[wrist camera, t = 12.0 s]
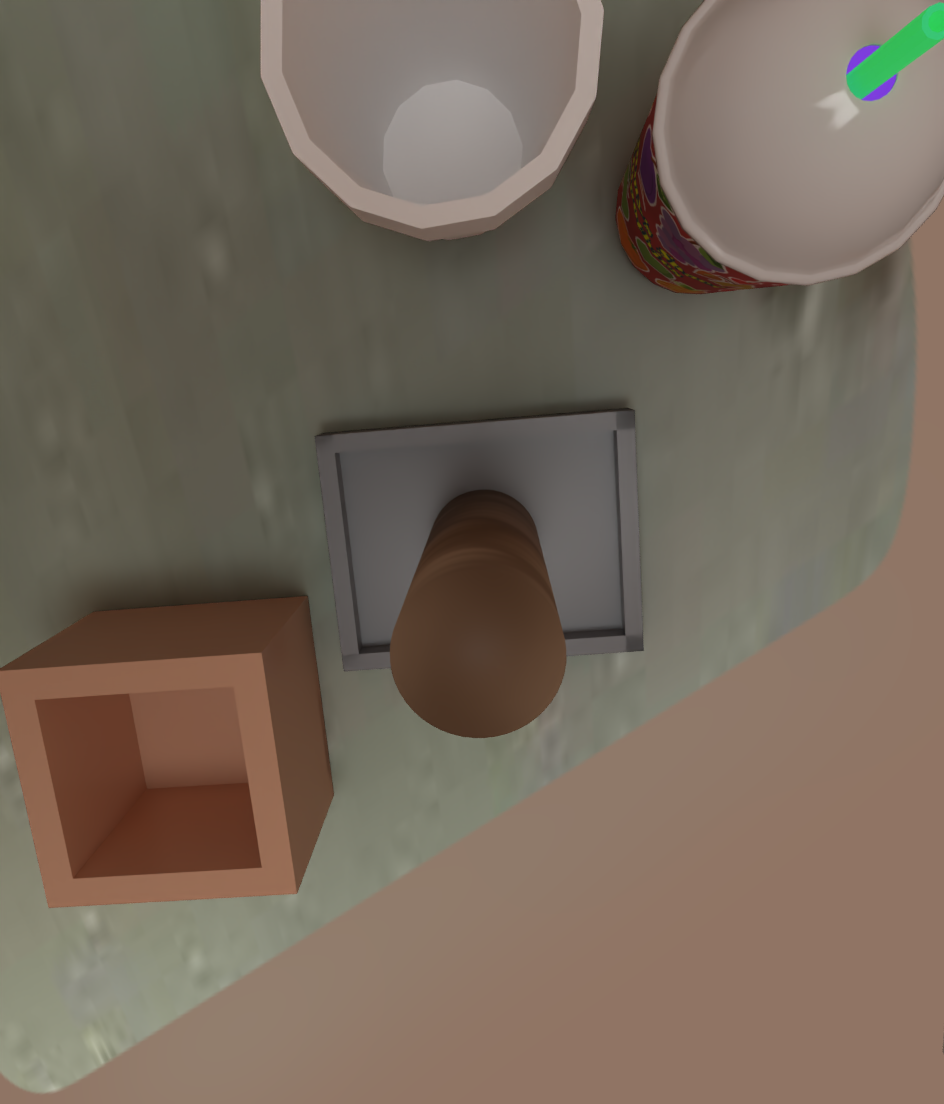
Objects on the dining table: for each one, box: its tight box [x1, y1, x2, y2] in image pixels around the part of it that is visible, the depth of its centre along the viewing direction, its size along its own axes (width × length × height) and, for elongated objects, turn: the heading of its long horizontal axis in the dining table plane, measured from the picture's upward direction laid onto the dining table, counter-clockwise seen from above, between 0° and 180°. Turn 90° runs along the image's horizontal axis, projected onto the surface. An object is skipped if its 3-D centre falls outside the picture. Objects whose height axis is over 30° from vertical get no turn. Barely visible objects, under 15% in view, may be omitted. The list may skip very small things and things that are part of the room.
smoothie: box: [616, 0, 944, 294], centre depth 25 cm, size 8×8×20 cm
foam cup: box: [261, 0, 604, 241], centre depth 28 cm, size 10×9×13 cm
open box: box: [0, 596, 334, 908], centre depth 37 cm, size 11×11×8 cm
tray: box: [315, 408, 644, 671], centre depth 37 cm, size 14×11×2 cm
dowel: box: [390, 490, 566, 738], centre depth 30 cm, size 5×5×15 cm
